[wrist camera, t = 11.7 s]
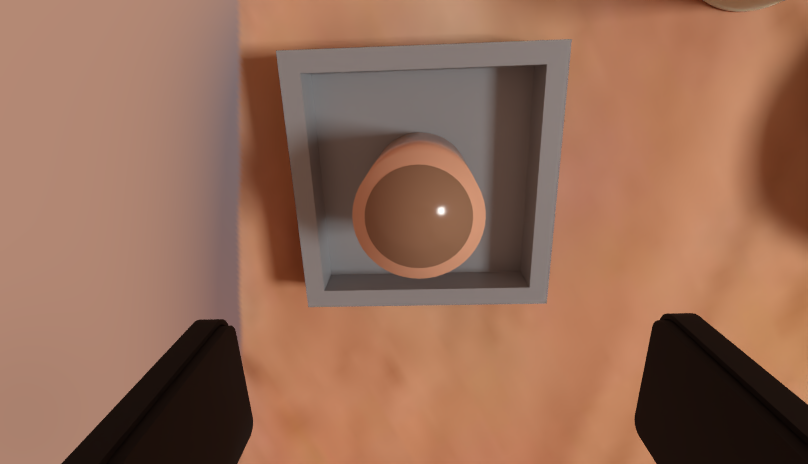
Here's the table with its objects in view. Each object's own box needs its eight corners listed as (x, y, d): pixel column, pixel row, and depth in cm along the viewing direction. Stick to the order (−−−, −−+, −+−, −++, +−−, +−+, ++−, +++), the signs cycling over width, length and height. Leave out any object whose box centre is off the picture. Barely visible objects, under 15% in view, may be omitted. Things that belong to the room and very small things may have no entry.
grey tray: (551, 45, 25) (571, 39, 22) (532, 279, 31) (546, 303, 27) (293, 54, 26) (275, 50, 23) (319, 283, 31) (308, 307, 28)
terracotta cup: (470, 131, 26) (489, 150, 18) (467, 227, 28) (482, 279, 21) (370, 133, 26) (347, 152, 19) (374, 227, 29) (356, 278, 21)
